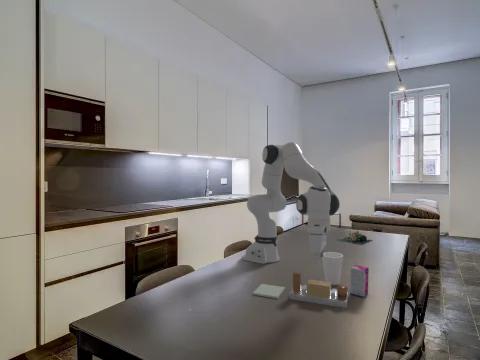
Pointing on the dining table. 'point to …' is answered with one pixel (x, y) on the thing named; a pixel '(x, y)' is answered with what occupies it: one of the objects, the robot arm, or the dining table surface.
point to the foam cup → (332, 267)
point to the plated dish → (356, 238)
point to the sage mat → (269, 291)
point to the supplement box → (359, 281)
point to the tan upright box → (319, 287)
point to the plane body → (335, 299)
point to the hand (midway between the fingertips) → (319, 259)
